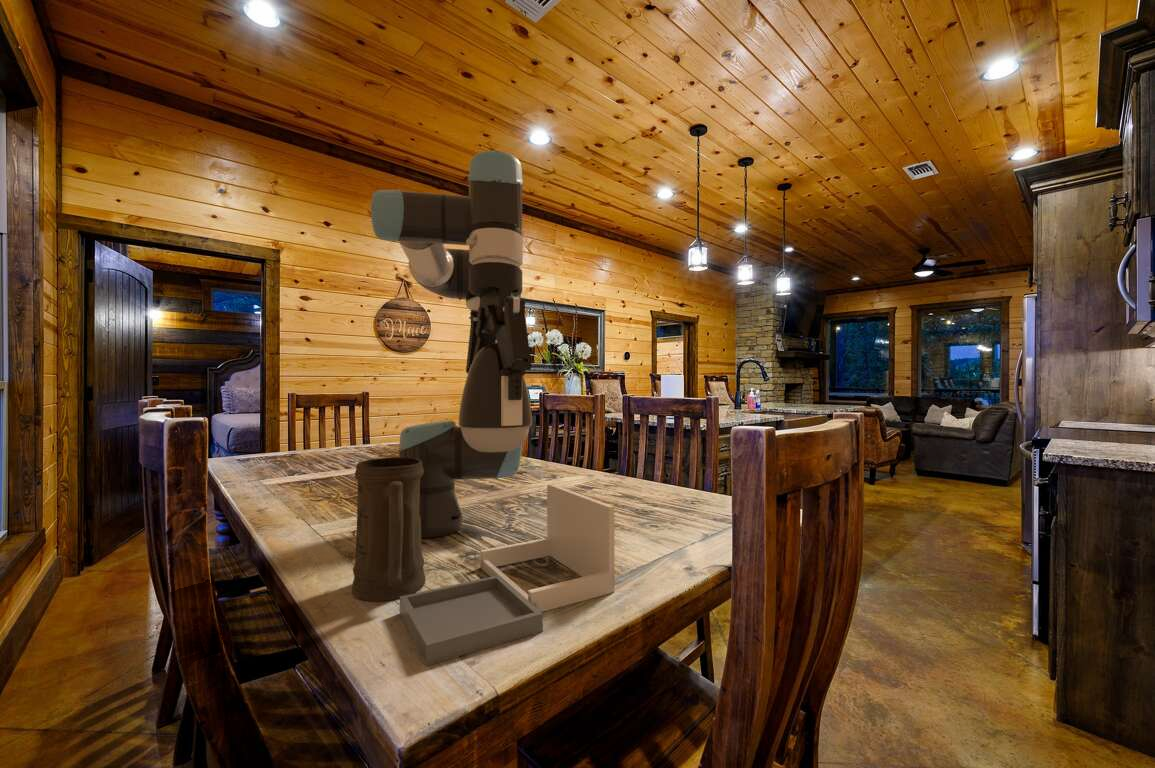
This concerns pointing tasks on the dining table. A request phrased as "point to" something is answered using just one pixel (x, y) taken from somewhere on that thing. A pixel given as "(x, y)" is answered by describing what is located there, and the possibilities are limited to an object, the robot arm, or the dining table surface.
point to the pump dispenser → (490, 406)
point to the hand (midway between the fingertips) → (495, 423)
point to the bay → (565, 550)
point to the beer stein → (388, 529)
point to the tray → (467, 618)
